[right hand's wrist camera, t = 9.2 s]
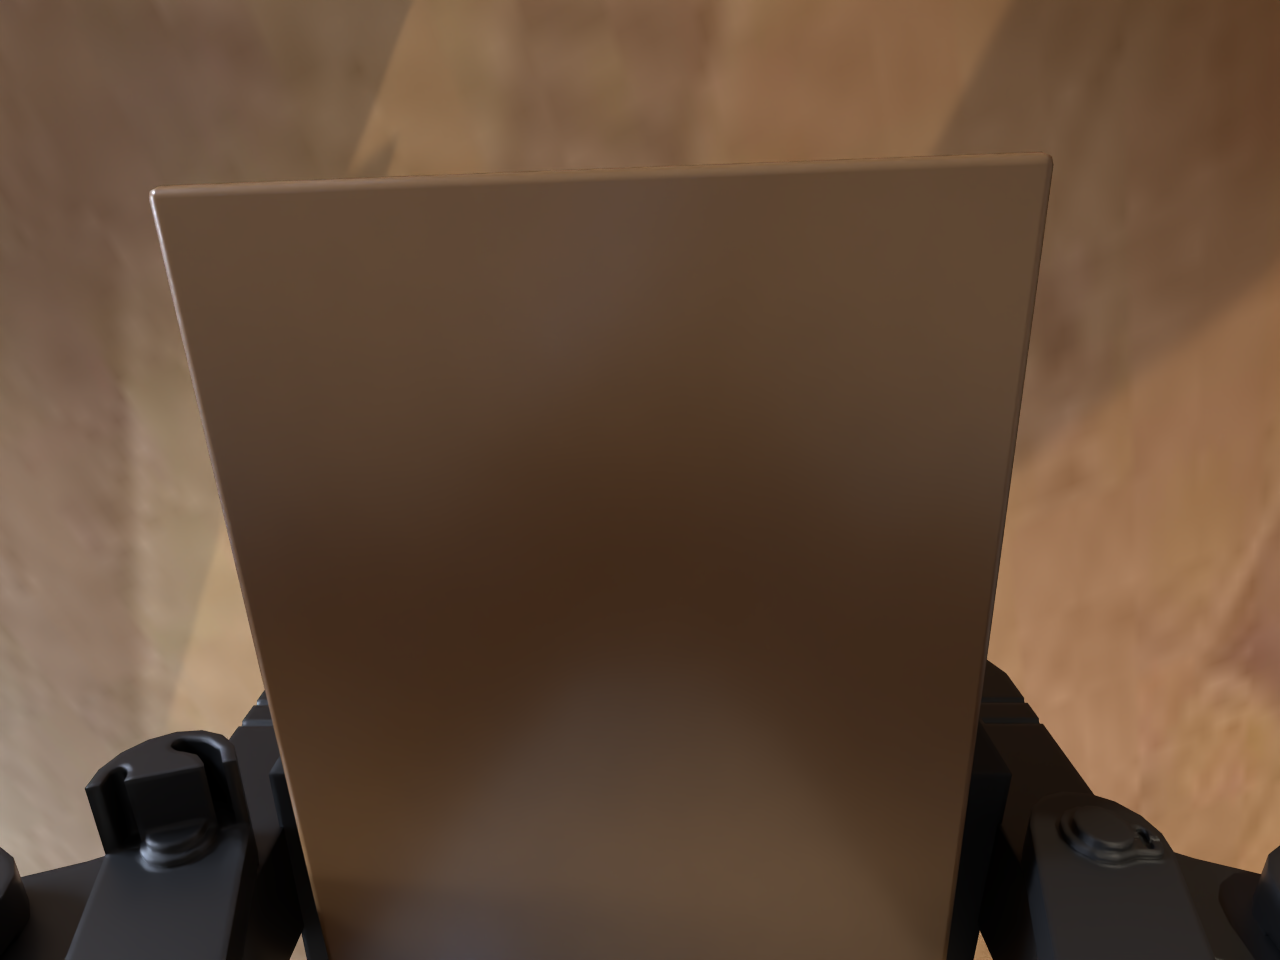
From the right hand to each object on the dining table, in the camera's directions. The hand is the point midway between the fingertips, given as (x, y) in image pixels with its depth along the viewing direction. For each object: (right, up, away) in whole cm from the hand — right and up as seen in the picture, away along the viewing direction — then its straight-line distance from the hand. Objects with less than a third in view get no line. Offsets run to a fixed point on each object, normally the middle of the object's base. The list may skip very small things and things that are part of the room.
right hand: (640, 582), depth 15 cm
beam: (+1, -20, +8) cm, 22 cm away
